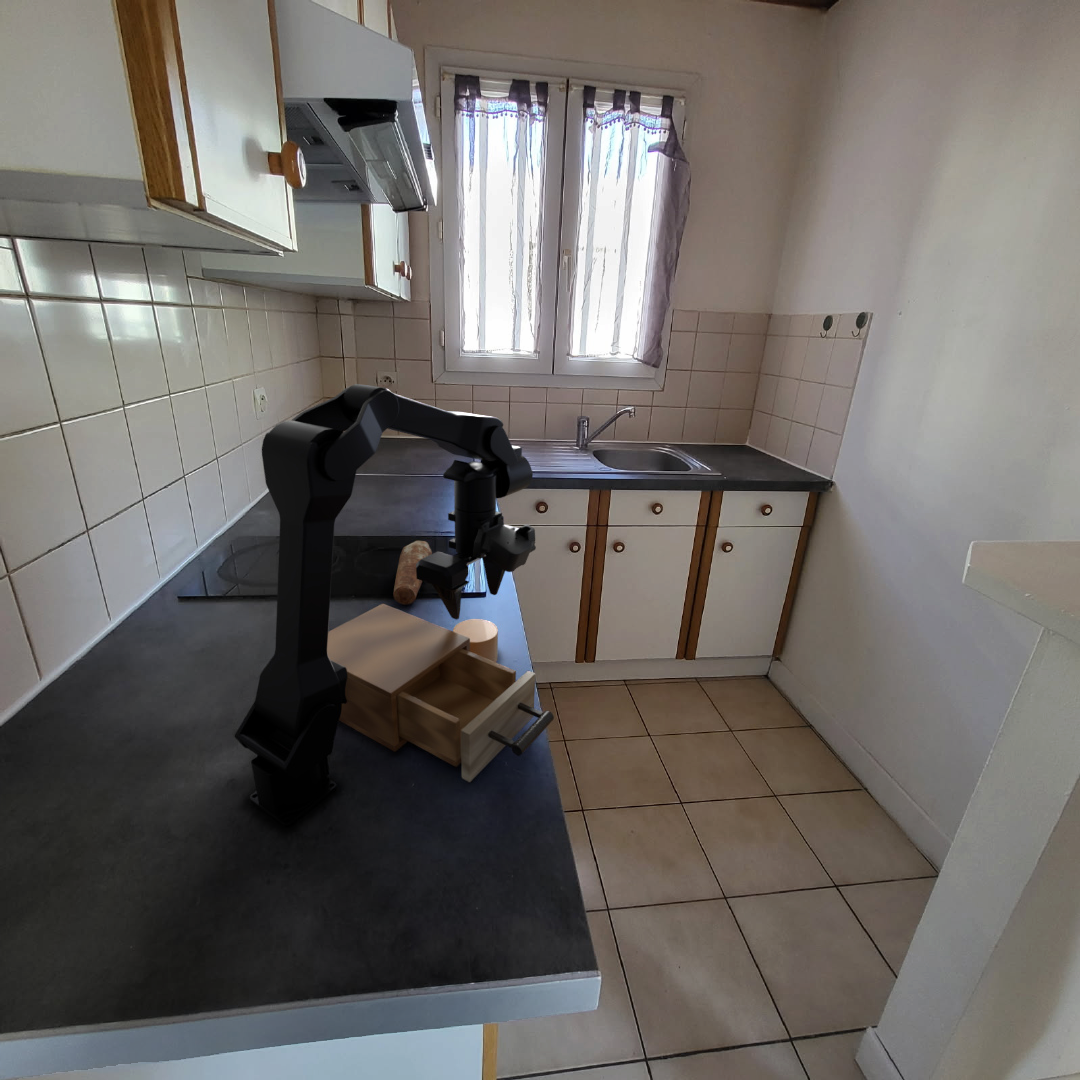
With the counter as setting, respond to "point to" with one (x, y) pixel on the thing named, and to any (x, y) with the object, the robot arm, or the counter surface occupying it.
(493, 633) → the tan round cylinder
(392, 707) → the cabinet
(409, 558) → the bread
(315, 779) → the robot arm
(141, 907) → the counter surface
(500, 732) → the drawer
